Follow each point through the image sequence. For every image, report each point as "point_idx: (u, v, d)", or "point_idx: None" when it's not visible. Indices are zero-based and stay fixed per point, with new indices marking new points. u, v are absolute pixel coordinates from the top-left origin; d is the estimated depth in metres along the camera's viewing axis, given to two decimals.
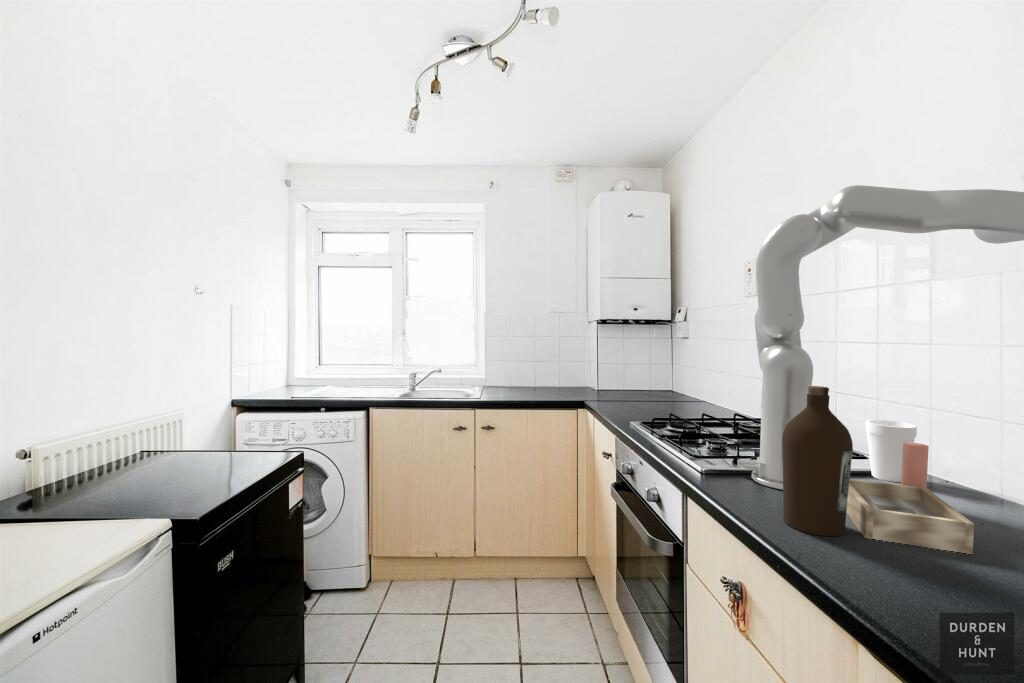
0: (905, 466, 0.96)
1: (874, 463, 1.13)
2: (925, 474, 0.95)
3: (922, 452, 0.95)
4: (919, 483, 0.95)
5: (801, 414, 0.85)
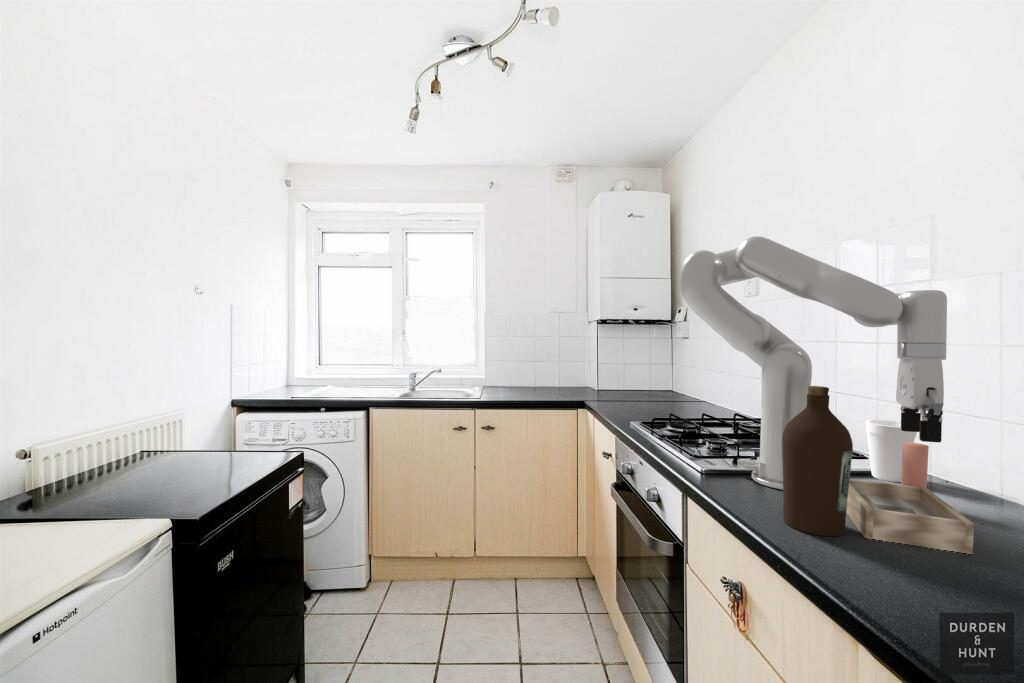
0: (905, 466, 0.96)
1: (874, 463, 1.13)
2: (925, 474, 0.95)
3: (922, 452, 0.95)
4: (919, 483, 0.95)
5: (801, 414, 0.85)
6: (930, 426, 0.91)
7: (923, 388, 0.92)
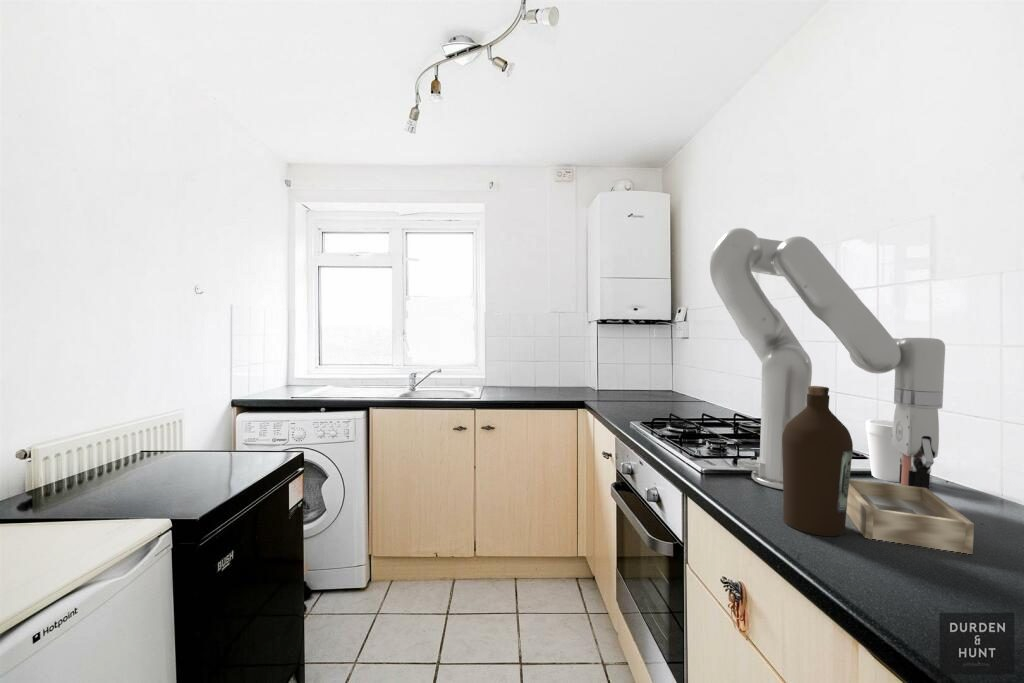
0: (906, 466, 0.96)
1: (874, 463, 1.13)
2: None
3: None
4: None
5: (801, 414, 0.85)
6: (919, 477, 0.94)
7: (918, 436, 0.92)
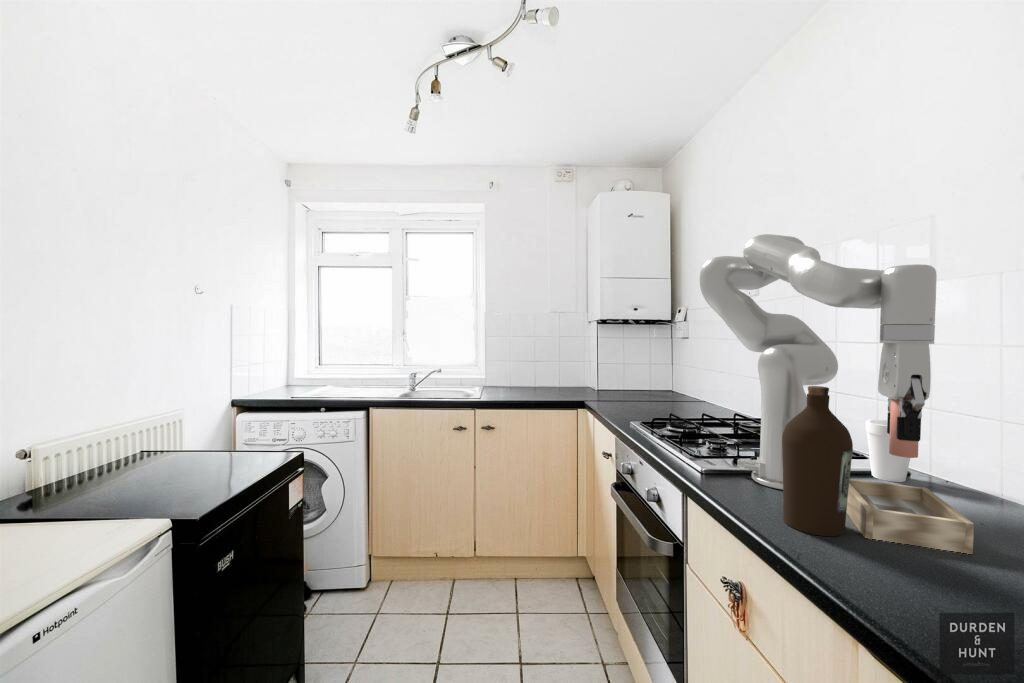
0: (894, 412, 0.85)
1: (874, 463, 1.13)
2: None
3: None
4: None
5: (801, 414, 0.85)
6: (908, 423, 0.82)
7: (907, 375, 0.81)
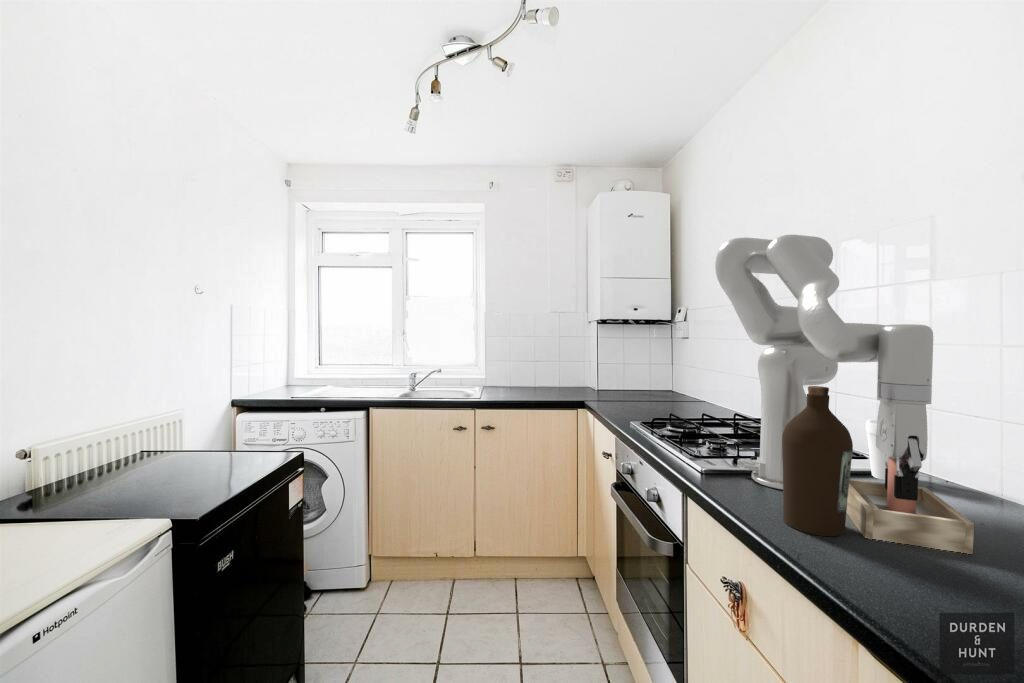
0: (892, 470, 0.85)
1: (874, 463, 1.13)
2: None
3: None
4: None
5: (801, 414, 0.85)
6: (905, 482, 0.82)
7: (904, 436, 0.81)
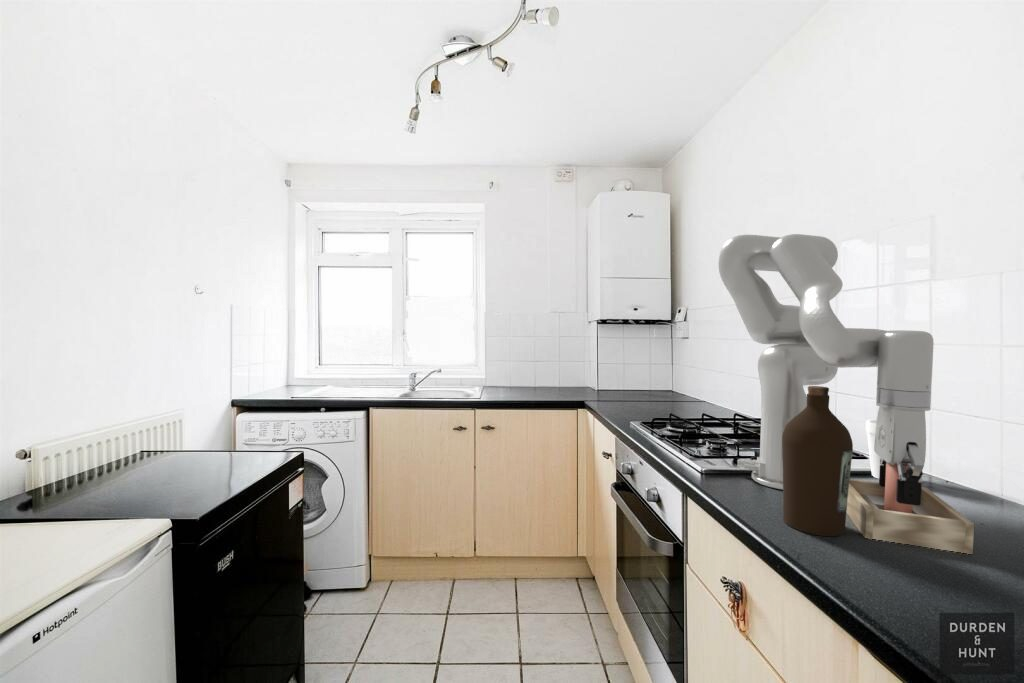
0: (889, 484, 0.85)
1: (874, 463, 1.13)
2: None
3: (907, 468, 0.84)
4: None
5: (801, 414, 0.85)
6: (908, 487, 0.81)
7: (903, 442, 0.81)
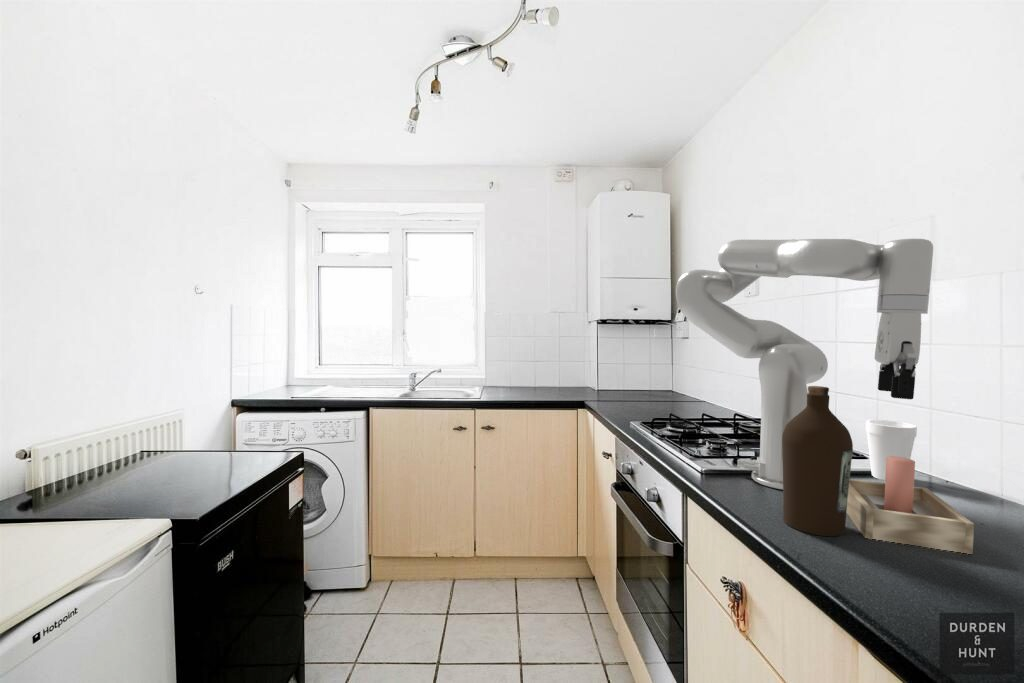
0: (889, 484, 0.85)
1: (874, 463, 1.13)
2: (911, 493, 0.84)
3: (907, 468, 0.84)
4: (904, 503, 0.84)
5: (801, 414, 0.85)
6: (902, 381, 0.86)
7: (898, 342, 0.87)
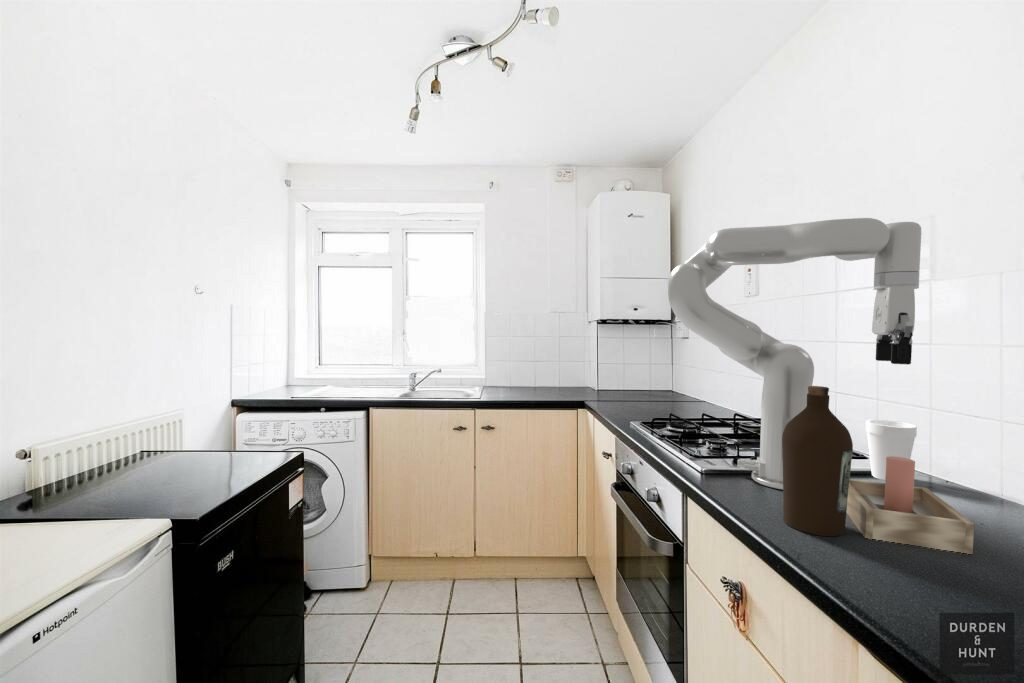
0: (889, 484, 0.85)
1: (874, 463, 1.13)
2: (911, 493, 0.84)
3: (907, 468, 0.84)
4: (904, 503, 0.84)
5: (801, 414, 0.85)
6: (901, 348, 0.96)
7: (896, 313, 0.97)
